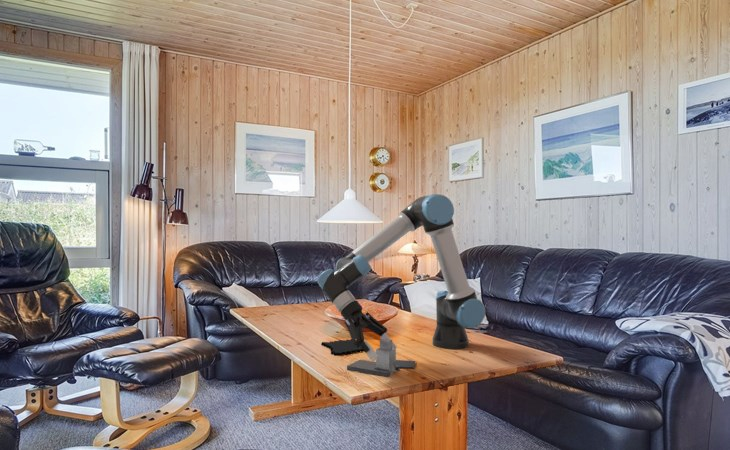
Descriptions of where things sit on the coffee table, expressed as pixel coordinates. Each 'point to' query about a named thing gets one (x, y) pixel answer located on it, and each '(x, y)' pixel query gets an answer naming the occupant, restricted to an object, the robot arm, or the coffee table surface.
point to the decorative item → (342, 347)
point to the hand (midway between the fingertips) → (385, 354)
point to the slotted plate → (368, 368)
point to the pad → (405, 364)
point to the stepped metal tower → (386, 356)
